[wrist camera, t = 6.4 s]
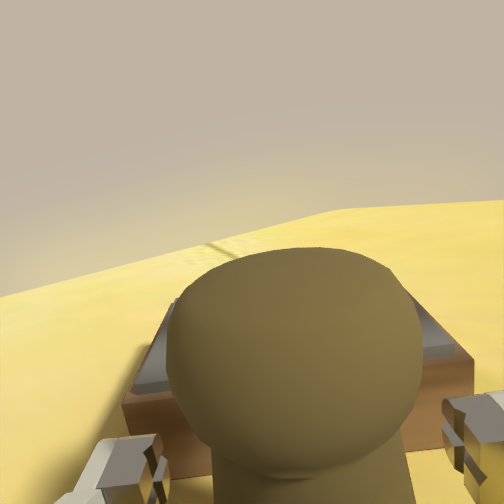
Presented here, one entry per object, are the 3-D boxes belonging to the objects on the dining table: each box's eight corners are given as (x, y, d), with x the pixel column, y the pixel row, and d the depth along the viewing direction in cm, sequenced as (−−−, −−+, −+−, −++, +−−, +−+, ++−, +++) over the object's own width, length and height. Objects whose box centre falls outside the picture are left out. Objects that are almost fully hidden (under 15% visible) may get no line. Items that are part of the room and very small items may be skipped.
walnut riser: (473, 444, 16) (474, 348, 15) (143, 482, 17) (118, 393, 16) (392, 330, 26) (389, 265, 25) (183, 357, 27) (169, 296, 25)
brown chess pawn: (273, 901, 7) (136, 399, 4) (201, 581, 13) (119, 263, 10) (514, 715, 9) (540, 264, 6) (360, 504, 15) (331, 213, 12)
